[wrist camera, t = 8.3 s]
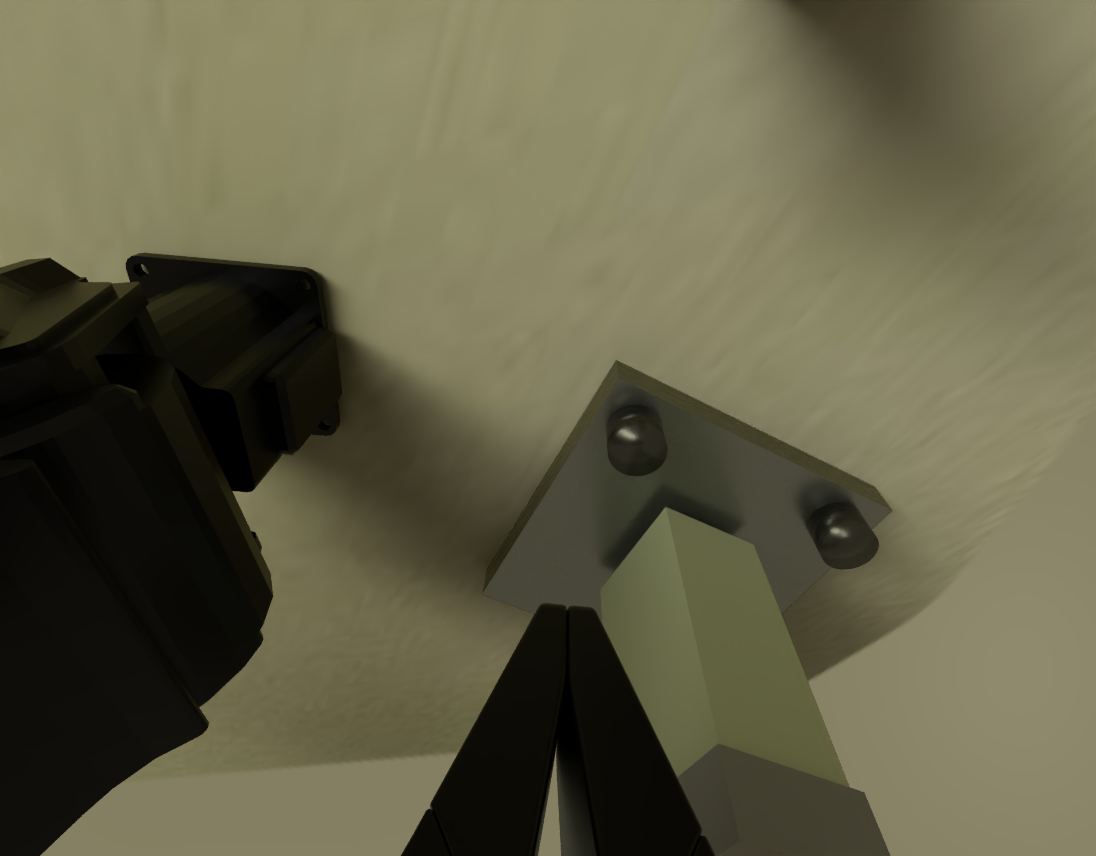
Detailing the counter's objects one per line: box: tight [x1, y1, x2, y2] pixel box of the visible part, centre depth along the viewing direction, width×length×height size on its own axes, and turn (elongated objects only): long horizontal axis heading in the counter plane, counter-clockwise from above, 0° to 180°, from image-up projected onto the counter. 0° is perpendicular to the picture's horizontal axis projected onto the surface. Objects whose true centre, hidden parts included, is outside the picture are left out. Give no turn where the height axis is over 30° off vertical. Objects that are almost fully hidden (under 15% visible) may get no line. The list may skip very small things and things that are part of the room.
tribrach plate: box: [482, 360, 892, 622], centre depth 23 cm, size 12×12×3 cm
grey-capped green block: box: [600, 507, 890, 856], centre depth 17 cm, size 4×5×12 cm
